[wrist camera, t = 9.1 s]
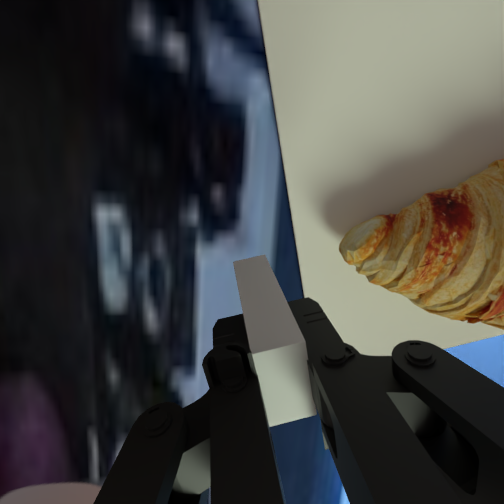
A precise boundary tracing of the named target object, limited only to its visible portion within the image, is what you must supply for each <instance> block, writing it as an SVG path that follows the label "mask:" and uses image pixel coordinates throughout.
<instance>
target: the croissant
mask: <svg viewBox="0 0 504 504" xmlns="http://www.w3.org/2000/svg"><path fill="white" fill-rule="evenodd" d="M339 252H340V254H341V255H342V257H343V259H344V261H345V262H347V263H348V264H349V265H354V266H356V271H357V272H358V274H362V275H365V276H366V277H367V279H368V281H369V282H370V283H372V284H375V285H380V286H381V287H383V288H385V289H387V290H388V291H390V292H395V293H398V294H401V295H403V296H405V297H406V298H408V299H409V300H410V301H411V302H412V303H413V304H414V305H416V306H418V307H420V308H422V309H423V310H425V311H427V312H429V313H432V314H436V315H439V316H442V317H446V318H450V319H451V320H460V321H463V322H464V321H466V320H467V321H468V322H467V323H472V324H474V323H477V322H482V323H484V324H487V325H490V326H493V327H496V328H499V329H502V330H504V159H500V160H495V161H494V162H492V163H490V164H489V165H488V168H487V169H485V170H483V171H482V172H480V173H478V174H476V175H474V176H471V177H469V178H468V179H467V180H466V181H465V182H460V183H458V186H457V187H455V188H448V189H446V188H440V189H437V190H436V191H434V192H430V193H425V194H424V195H423V196H422V197H421V198H420V199H418V200H417V201H415V202H414V203H413V204H411V205H409V206H408V207H404V208H402V209H401V211H400V213H398V214H391V213H390V214H388V215H377V216H375V217H373V218H371V219H369V220H367V221H364V222H362V223H360V224H358V225H356V226H354V227H353V228H351V229H350V230H349V231H348V232H347V233H346V234H345V236H344V238H343V239H342V240H341V242H340V244H339Z"/></svg>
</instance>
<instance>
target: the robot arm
mask: <svg viewBox="0 0 504 504" xmlns="http://www.w3.org/2000/svg"><path fill="white" fill-rule="evenodd" d="M233 264H234V269H235V274H236V280H237V285H238V290H239V295H240V300H241V305H242V310H243V314H239V315H235V316H231V317H227V318H222V319H218V320H217V322H216V324H215V326H214V327H213V349H212V350H211V351H209V352H208V354H207V355H206V356H205V357H204V360H203V363H202V366H203V369H204V373H205V376H206V379H207V382H208V385H209V388H210V389H209V390H208V391H207V393H206V394H205V395H203V396H202V397H201V398H200V399H198V400H197V401H195V402H194V403H192V404H190V405H188V406H186V407H184V408H181V407H180V406H179V405H177V404H176V403H171V402H164V403H160V404H156V405H154V406H153V407H151V408H149V409H147V410H146V411H145V412H144V413H142V414H141V415H140V416H139V417H138V419H137V420H136V422H135V423H134V424H133V426H132V428H131V430H130V432H129V434H128V436H127V438H126V440H125V442H124V444H123V446H122V448H121V450H120V452H119V454H118V456H117V458H116V460H115V462H114V464H113V466H112V468H111V470H110V472H109V474H108V476H107V478H106V480H105V482H104V484H103V486H102V488H101V490H100V492H99V494H98V496H97V498H96V500H95V502H94V504H206V502H207V498H208V493H209V487H211V504H286V501H285V497H284V492H283V487H282V483H281V478H280V473H279V469H278V464H277V459H276V455H275V450H274V445H273V441H272V437H271V432H270V428H269V427H271V426H275V425H279V424H282V423H286V422H290V421H294V420H298V419H302V418H306V417H310V416H314V415H317V413H316V408H317V410H318V413H319V415H320V418H321V425H322V432H323V438H324V445H325V450H326V449H329V450H330V452H331V455H332V458H333V460H334V463H335V465H336V468H337V471H338V473H339V476H340V479H341V481H342V484H343V487H344V489H345V492H346V494H347V497H348V500H349V502H350V504H504V388H503V387H502V386H500V385H499V384H497V383H496V382H494V381H492V380H491V379H489V378H488V377H486V376H484V375H483V374H481V373H480V372H478V371H476V370H475V369H473V368H472V367H470V366H468V365H467V364H465V363H464V362H462V361H461V360H459V359H457V358H456V357H454V356H453V355H451V354H449V353H448V352H446V351H445V350H443V349H441V348H440V347H438V346H436V345H434V344H432V343H429V342H425V341H420V340H408V341H404V342H401V343H399V344H398V345H396V346H395V347H394V348H393V351H392V353H391V354H392V356H370V355H364V354H360V353H359V352H358V351H357V350H356V349H355V348H354V347H353V346H351V345H349V344H347V343H344V342H343V340H342V339H341V337H340V336H339V334H338V332H337V331H336V329H335V328H334V326H333V325H332V323H331V322H330V320H329V319H328V317H327V316H326V314H325V312H323V309H322V308H321V306H320V305H319V303H318V302H316V301H314V300H313V299H311V298H309V297H307V298H303V299H299V300H294V301H290V302H287V301H286V299H285V297H284V294H283V292H282V290H281V288H280V286H279V284H278V282H277V279H276V277H275V275H274V273H273V271H272V269H271V267H270V265H269V262H268V260H267V258H266V256H265V255H261V256H256V257H252V258H248V259H243V260H239V261H235V262H233ZM315 405H316V406H315Z"/></svg>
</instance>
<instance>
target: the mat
mask: <svg viewBox="0 0 504 504" xmlns="http://www.w3.org/2000/svg"><path fill="white" fill-rule="evenodd" d="M257 1H258V7H259V14H260V20H261V26H262V33H263V39H264V45H265V52H266V58H267V64H268V71H269V77H270V84H271V90H272V96H273V103H274V109H275V115H276V122H277V128H278V134H279V141H280V147H281V154H282V160H283V166H284V173H285V179H286V185H287V192H288V198H289V204H290V211H291V217H292V224H293V230H294V236H295V243H296V249H297V255H298V262H299V268H300V274H301V281H302V287H303V294H304V298H307V297H309V298H311V299H313V300H314V301H316V302H318V303H319V305H320V306H321V308H322V309H323V312H325V314H326V316H327V317H328V319H329V320H330V322H331V323H332V325H333V326H334V328H335V329H336V331H337V332H338V334H339V336H340V337H341V339H342V340H343V342H344V343H347V344H349V345H351V346H353V347H354V348H355V349H356V350H357V351H358V352H359V353H360V354H364V355H370V356H392V354H391V353H392V351H393V348H394V347H395V346H396V345H398V344H399V343H401V342H404V341H408V340H420V341H425V342H429V343H432V344H434V345H436V346H438V347H440V348H441V349H446V348H450V347H454V346H458V345H462V344H466V343H470V342H474V341H478V340H482V339H487V338H491V337H495V336H499V335H503V334H504V330H502V329H499V328H496V327H493V326H490V325H487V324H484V323H482V322H477V323H474V324H472V323H467V322H468V321H467V320H466V321H464V322H463V321H460V320H451V319H450V318H446V317H442V316H439V315H436V314H432V313H429V312H427V311H425V310H423V309H422V308H420V307H418V306H416V305H414V304H413V303H412V302H411V301H410V300H409V299H408V298H406V297H405V296H403V295H401V294H398V293H395V292H390V291H388V290H387V289H385V288H383V287H381V286H380V285H375V284H372V283H370V282H369V281H368V279H367V277H366V276H365V275H362V274H358V272H357V271H356V266H354V265H349V264H348V263H347V262H345V261H344V259H343V257H342V255H341V254H340V252H339V244H340V242H341V240H342V239H343V238H344V236H345V234H346V233H347V232H348V231H349V230H350V229H351V228H353V227H354V226H356V225H358V224H360V223H362V222H364V221H367V220H369V219H371V218H373V217H375V216H377V215H388V214H390V213H391V214H398V213H400V211H401V209H402V208H404V207H408V206H409V205H411V204H413V203H414V202H415V201H417V200H418V199H420V198H421V197H422V196H423V195H424V194H425V193H430V192H434V191H436V190H437V189H440V188H446V189H448V188H455V187H457V186H458V183H460V182H465V181H466V180H467V179H468V178H469V177H471V176H474V175H476V174H478V173H480V172H482V171H483V170H485V169H487V168H488V165H489V164H490V163H492V162H494V161H495V160H500V159H504V0H257Z"/></svg>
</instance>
